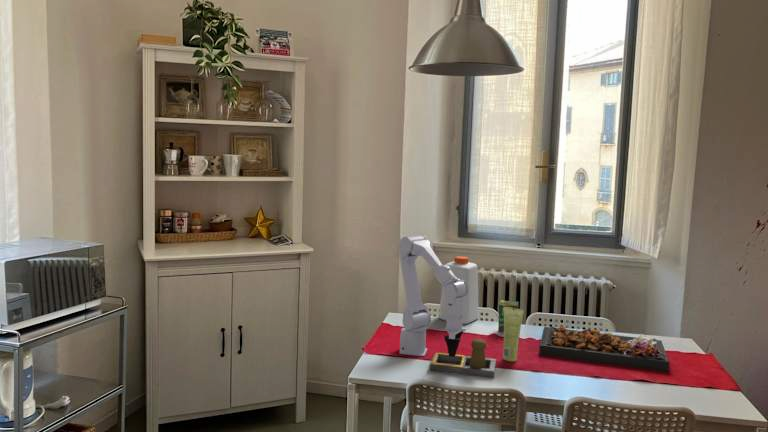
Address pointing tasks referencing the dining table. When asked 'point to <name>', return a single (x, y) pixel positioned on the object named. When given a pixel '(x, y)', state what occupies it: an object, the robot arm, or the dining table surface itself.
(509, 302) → the coffee box
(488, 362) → the rail plate
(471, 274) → the plastic bottle
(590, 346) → the food platter
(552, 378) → the dining table surface
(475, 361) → the cork
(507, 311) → the tube
